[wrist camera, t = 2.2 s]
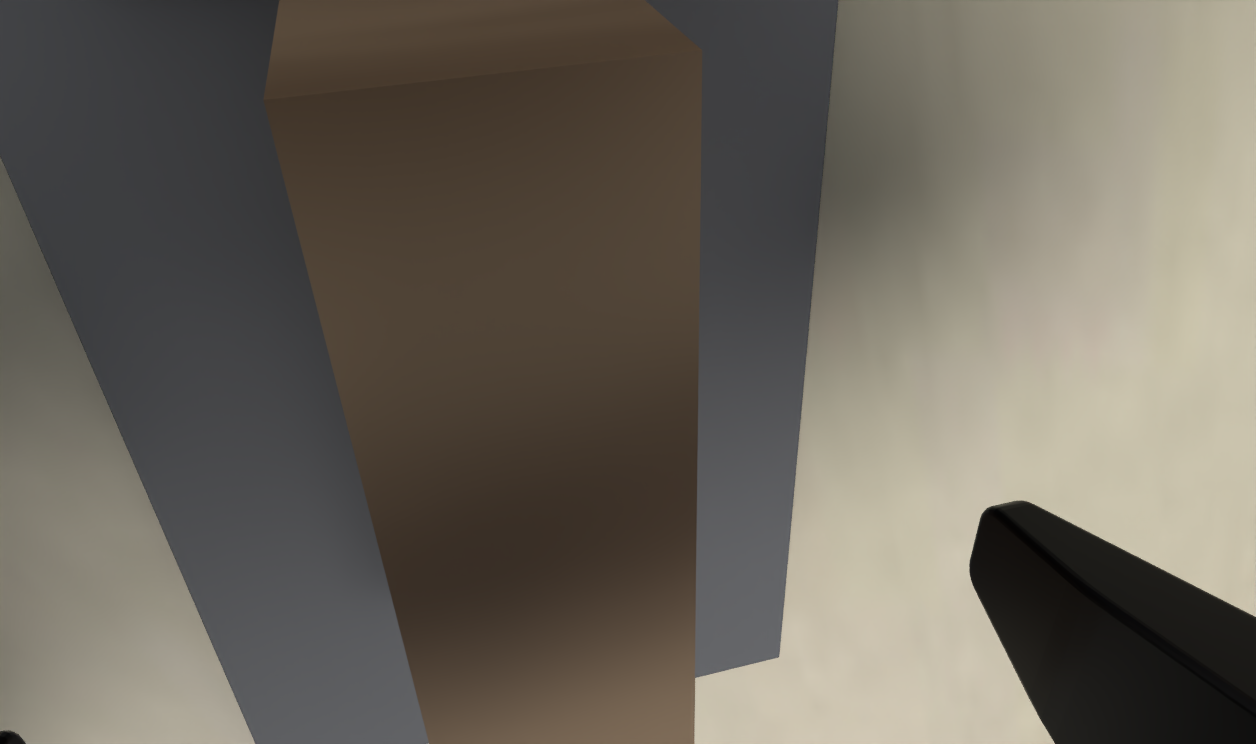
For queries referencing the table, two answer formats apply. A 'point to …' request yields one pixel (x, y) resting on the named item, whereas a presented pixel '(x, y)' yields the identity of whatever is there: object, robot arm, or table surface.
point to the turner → (512, 342)
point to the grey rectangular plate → (296, 348)
